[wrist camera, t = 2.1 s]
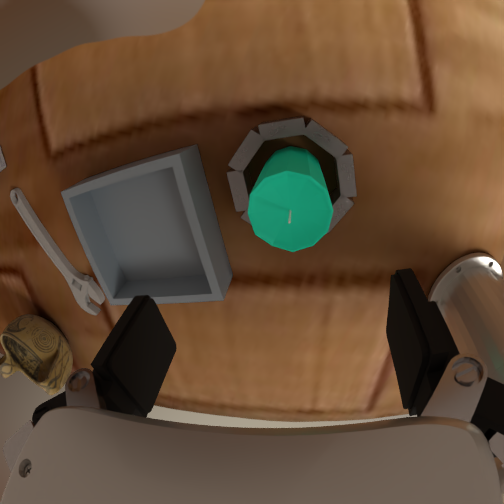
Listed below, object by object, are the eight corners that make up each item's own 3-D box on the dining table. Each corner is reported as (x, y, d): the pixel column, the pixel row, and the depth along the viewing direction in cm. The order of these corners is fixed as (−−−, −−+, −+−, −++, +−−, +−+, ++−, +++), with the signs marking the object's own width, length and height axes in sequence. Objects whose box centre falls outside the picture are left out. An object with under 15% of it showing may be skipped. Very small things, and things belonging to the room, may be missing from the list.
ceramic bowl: (47, 354, 58) (18, 395, 45) (11, 300, 50) (-26, 341, 37) (106, 364, 53) (74, 420, 40) (64, 299, 45) (17, 355, 32)
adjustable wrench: (14, 192, 36) (7, 196, 34) (29, 171, 34) (21, 175, 32) (93, 311, 45) (88, 317, 44) (114, 302, 43) (108, 309, 41)
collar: (341, 111, 25) (346, 112, 22) (354, 220, 30) (359, 232, 28) (224, 129, 28) (217, 133, 25) (249, 233, 33) (244, 246, 30)
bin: (197, 144, 29) (179, 153, 24) (232, 274, 36) (223, 300, 32) (85, 178, 32) (60, 192, 28) (127, 283, 40) (111, 305, 35)
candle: (278, 135, 27) (265, 160, 17) (332, 162, 28) (353, 203, 17) (254, 187, 30) (229, 240, 20) (306, 211, 31) (308, 276, 20)
